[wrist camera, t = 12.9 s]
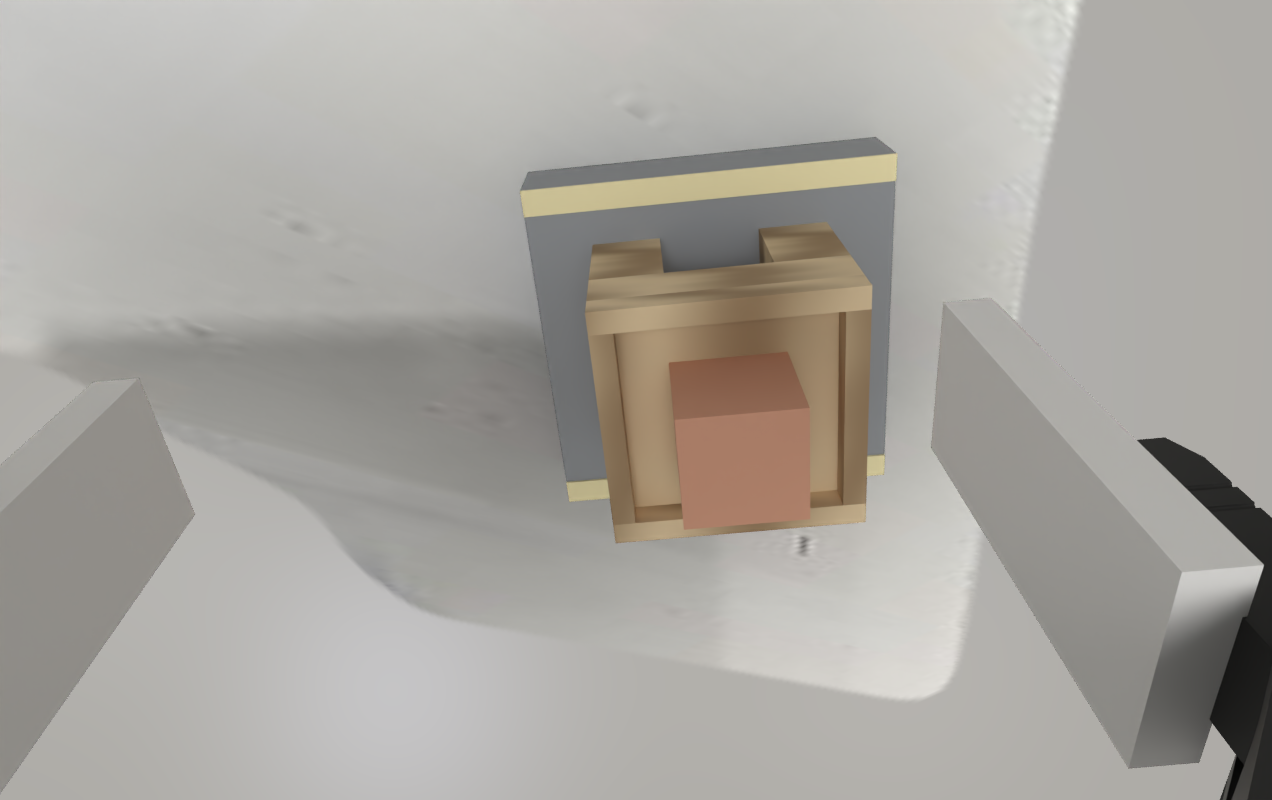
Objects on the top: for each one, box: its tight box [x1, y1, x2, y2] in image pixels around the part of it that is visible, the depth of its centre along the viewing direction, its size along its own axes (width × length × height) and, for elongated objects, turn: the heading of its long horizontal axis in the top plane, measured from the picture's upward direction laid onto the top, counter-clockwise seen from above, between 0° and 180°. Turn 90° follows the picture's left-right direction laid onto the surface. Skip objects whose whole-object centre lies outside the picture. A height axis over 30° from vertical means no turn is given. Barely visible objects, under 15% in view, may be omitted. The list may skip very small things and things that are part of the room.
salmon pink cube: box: [669, 352, 810, 530], centre depth 28 cm, size 4×4×4 cm
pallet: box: [585, 222, 872, 543], centre depth 32 cm, size 9×9×7 cm
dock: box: [520, 137, 897, 502], centre depth 37 cm, size 14×14×3 cm
